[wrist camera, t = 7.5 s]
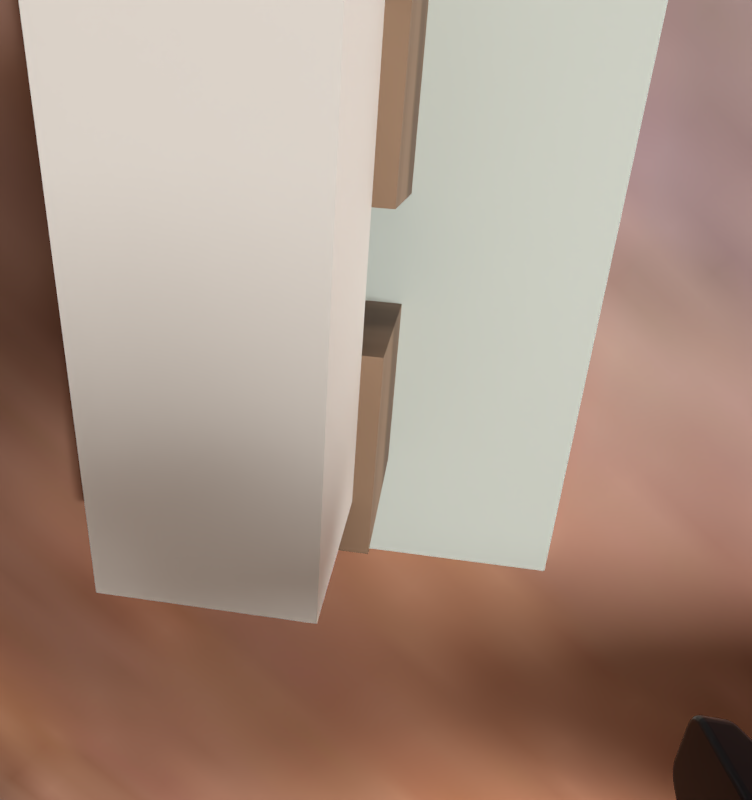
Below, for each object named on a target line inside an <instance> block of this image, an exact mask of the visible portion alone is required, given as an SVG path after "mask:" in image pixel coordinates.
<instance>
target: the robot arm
mask: <svg viewBox="0 0 752 800" xmlns="http://www.w3.org/2000/svg"><path fill="white" fill-rule="evenodd" d="M673 782H674V789H675V794H676V799H677V800H752V740H751V739H750V738H749V737H748V736H747V735H746V734H745V733H744V732H743V731H742V730H741V729H740V728H739V727H738V726H737V725H735V724H734V723H733V722H731V721H729V720H726V719H720V718H714V717H708V716H703V715H696V716H694V717H693V718H692V719H691V720H690V722H689V723H688V726H687V729H686V731H685V734H684V737H683V739H682V742H681V744H680V747H679V750H678V752H677V755H676V758H675V761H674V766H673Z"/></svg>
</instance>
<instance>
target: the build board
mask: <svg viewBox="0 0 752 800" xmlns="http://www.w3.org/2000/svg"><path fill="white" fill-rule="evenodd" d="M18 2H19V0H18ZM667 3H668V0H429V2H428V14H427V25H426V36H425V48H424V59H423V70H422V82H421V93H420V104H419V116H418V127H417V138H416V150H415V161H414V172H413V183H412V194H411V195H410V196H409V197H408V198H407V199H405V200H404V201H403V202H402V203H401V204H400V205H399V206H398V207H397V208H396V209H385V208H373V207H371V222H370V237H369V252H368V267H367V283H366V298H365V300H368V301H378V302H388V303H399V304H402V308H401V319H400V330H399V342H398V353H397V364H396V376H395V387H394V398H393V410H392V421H391V432H390V444H389V455H388V462H387V466H386V471H385V476H384V481H383V485H382V490H381V495H380V500H379V504H378V509H377V514H376V518H375V523H374V528H373V533H372V537H371V542H370V547H369V548H372V549H379V550H387V551H395V552H403V553H410V554H418V555H426V556H433V557H441V558H449V559H456V560H464V561H472V562H479V563H487V564H495V565H502V566H510V567H518V568H525V569H533V570H541V571H544V570H545V565H546V560H547V556H548V551H549V547H550V542H551V537H552V533H553V528H554V524H555V519H556V514H557V510H558V505H559V501H560V496H561V491H562V487H563V482H564V477H565V473H566V468H567V464H568V459H569V454H570V450H571V445H572V441H573V436H574V431H575V427H576V422H577V418H578V413H579V408H580V404H581V399H582V395H583V390H584V385H585V381H586V376H587V371H588V367H589V362H590V358H591V353H592V348H593V344H594V339H595V335H596V330H597V325H598V321H599V316H600V312H601V307H602V302H603V298H604V293H605V288H606V284H607V279H608V275H609V270H610V265H611V261H612V256H613V252H614V247H615V242H616V238H617V233H618V229H619V224H620V219H621V215H622V210H623V206H624V201H625V196H626V192H627V187H628V182H629V178H630V173H631V169H632V164H633V159H634V155H635V150H636V146H637V141H638V136H639V132H640V127H641V123H642V118H643V113H644V109H645V104H646V100H647V95H648V90H649V86H650V81H651V76H652V72H653V67H654V63H655V58H656V53H657V49H658V44H659V40H660V35H661V30H662V26H663V21H664V17H665V12H666V7H667ZM19 10H20V7H19ZM20 18H21V15H20ZM21 25H22V23H21ZM22 33H23V30H22ZM23 40H24V38H23ZM24 48H25V45H24ZM25 55H26V53H25ZM26 63H27V61H26ZM27 71H28V68H27ZM28 78H29V76H28ZM29 86H30V84H29ZM30 93H31V91H30ZM31 101H32V99H31ZM32 108H33V107H32ZM33 116H34V114H33ZM34 124H35V122H34ZM35 131H36V129H35ZM36 139H37V137H36ZM37 146H38V145H37ZM38 154H39V152H38ZM39 161H40V160H39ZM40 169H41V168H40ZM41 177H42V175H41ZM42 184H43V183H42ZM43 192H44V190H43ZM44 199H45V198H44ZM45 207H46V206H45ZM46 215H47V213H46ZM47 222H48V221H47ZM48 230H49V229H48ZM49 237H50V236H49ZM50 245H51V244H50ZM51 252H52V251H51ZM52 260H53V259H52ZM53 268H54V267H53ZM54 275H55V274H54ZM55 283H56V282H55ZM57 298H58V297H57ZM59 313H60V312H59ZM60 321H61V320H60ZM62 336H63V335H62ZM67 374H68V373H67Z"/></svg>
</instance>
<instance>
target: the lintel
mask: <svg viewBox="0 0 752 800" xmlns="http://www.w3.org/2000/svg"><path fill="white" fill-rule="evenodd" d="M19 7H20V15H21V23H22V30H23V38H24V45H25V53H26V61H27V68H28V76H29V84H30V91H31V99H32V107H33V114H34V122H35V129H36V137H37V145H38V152H39V160H40V168H41V175H42V183H43V190H44V198H45V206H46V213H47V221H48V229H49V236H50V244H51V251H52V259H53V267H54V274H55V282H56V290H57V297H58V305H59V312H60V320H61V328H62V335H63V343H64V351H65V358H66V366H67V373H68V381H69V389H70V396H71V404H72V412H73V419H74V427H75V434H76V442H77V450H78V457H79V465H80V473H81V480H82V488H83V495H84V503H85V511H86V518H87V526H88V534H89V541H90V549H91V556H92V564H93V572H94V579H95V587H96V593H103V594H110V595H117V596H124V597H131V598H138V599H145V600H152V601H159V602H166V603H173V604H180V605H187V606H194V607H202V608H209V609H216V610H223V611H230V612H237V613H244V614H251V615H258V616H265V617H272V618H279V619H286V620H293V621H300V622H307V623H314V624H317V622H318V618H319V615H320V611H321V608H322V604H323V601H324V597H325V594H326V590H327V587H328V584H329V580H330V577H331V573H332V570H333V566H334V563H335V559H336V556H337V552H338V549H339V545H340V542H341V538H342V535H343V532H344V528H345V525H346V521H347V518H348V514H349V511H350V507H351V504H352V496H353V480H354V465H355V450H356V435H357V419H358V404H359V389H360V374H361V359H362V343H363V328H364V313H365V298H366V283H367V267H368V252H369V237H370V222H371V206H372V191H373V176H374V161H375V146H376V130H377V115H378V100H379V85H380V70H381V54H382V39H383V24H384V9H385V0H19Z"/></svg>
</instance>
